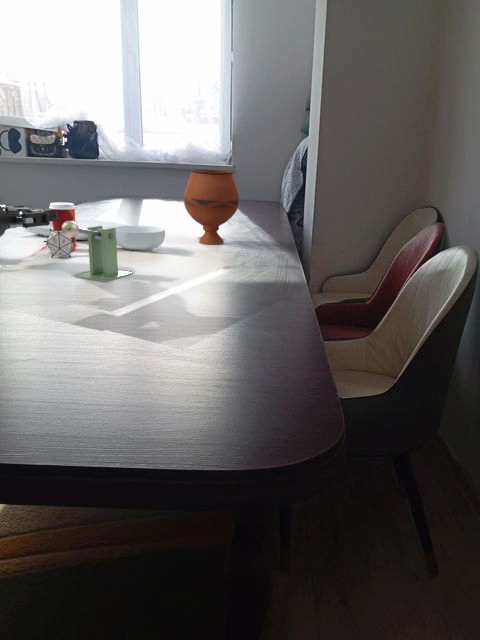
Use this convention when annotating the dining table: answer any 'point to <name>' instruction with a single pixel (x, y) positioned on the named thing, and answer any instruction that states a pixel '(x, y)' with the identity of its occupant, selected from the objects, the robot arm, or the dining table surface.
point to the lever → (78, 230)
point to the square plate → (81, 224)
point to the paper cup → (63, 216)
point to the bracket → (103, 256)
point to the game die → (59, 243)
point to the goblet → (211, 201)
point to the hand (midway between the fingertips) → (39, 212)
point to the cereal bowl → (139, 237)
